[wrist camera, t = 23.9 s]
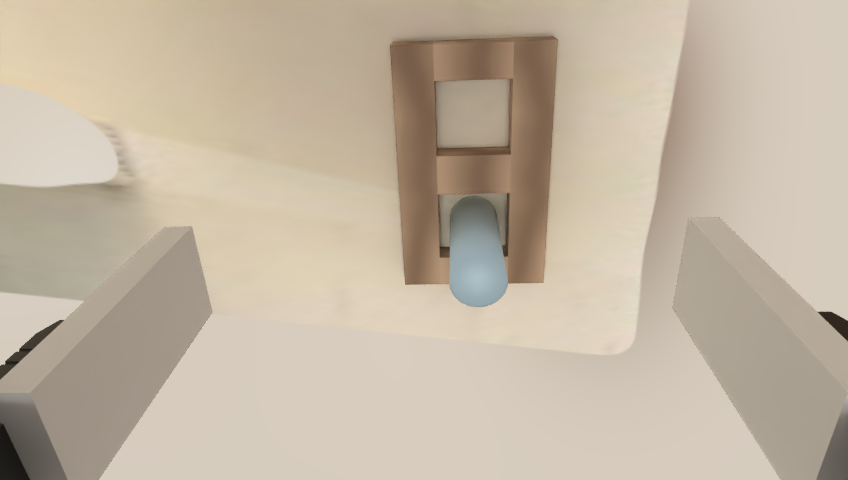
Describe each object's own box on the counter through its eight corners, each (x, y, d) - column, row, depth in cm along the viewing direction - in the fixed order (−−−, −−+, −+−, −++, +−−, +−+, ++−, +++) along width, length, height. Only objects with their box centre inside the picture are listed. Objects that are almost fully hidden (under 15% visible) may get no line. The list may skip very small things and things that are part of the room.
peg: (450, 239, 50) (450, 307, 40) (449, 197, 49) (448, 257, 39) (496, 238, 50) (507, 306, 40) (496, 195, 48) (508, 256, 38)
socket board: (406, 273, 52) (405, 284, 50) (392, 42, 43) (390, 45, 41) (540, 271, 51) (543, 282, 50) (553, 36, 43) (557, 39, 41)
